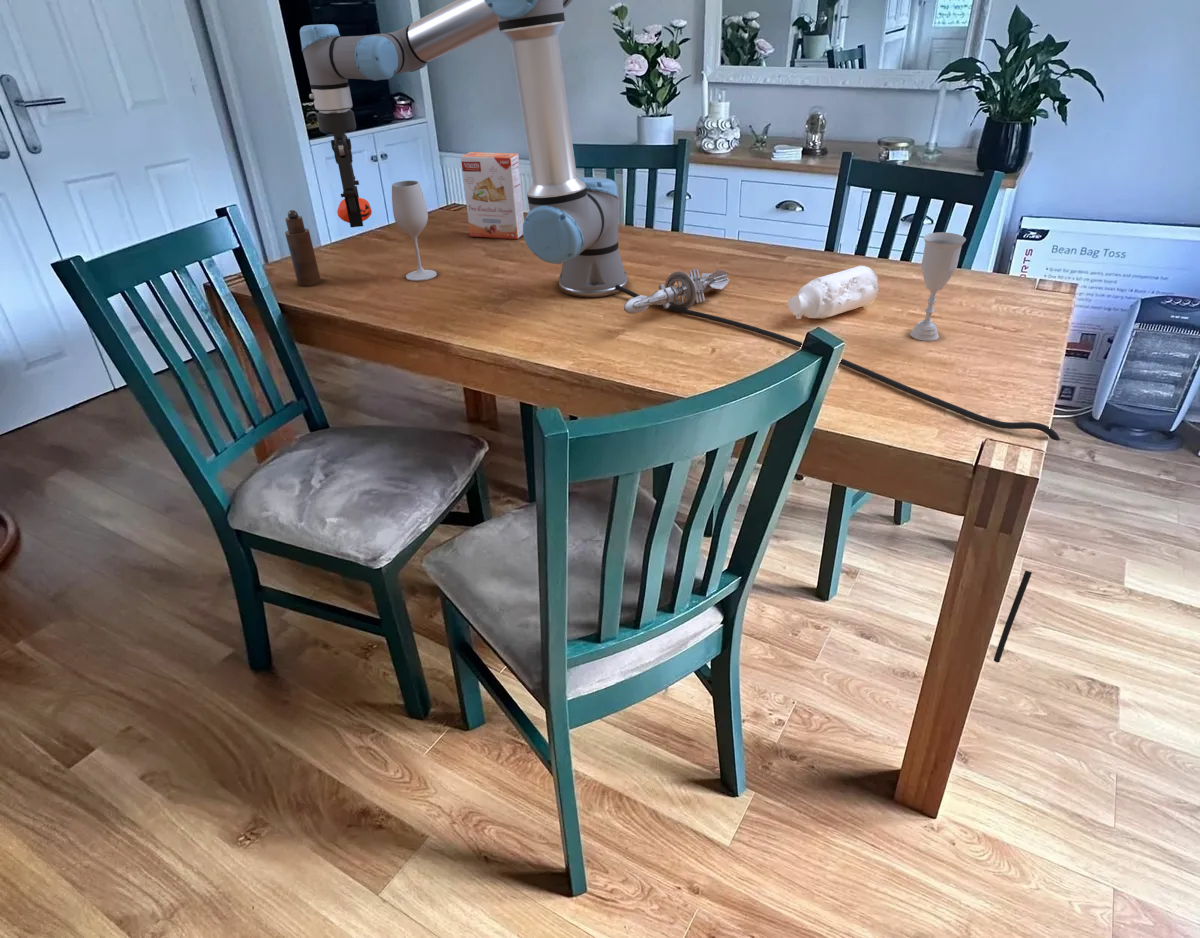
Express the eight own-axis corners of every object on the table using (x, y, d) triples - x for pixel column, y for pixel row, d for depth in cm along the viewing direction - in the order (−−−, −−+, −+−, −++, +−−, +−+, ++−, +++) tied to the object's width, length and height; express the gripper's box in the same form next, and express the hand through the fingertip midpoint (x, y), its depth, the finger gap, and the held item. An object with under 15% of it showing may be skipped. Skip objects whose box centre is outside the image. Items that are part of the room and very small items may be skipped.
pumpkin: (376, 216, 175) (370, 187, 172) (369, 226, 169) (363, 196, 165) (344, 218, 175) (338, 188, 172) (336, 227, 168) (329, 197, 165)
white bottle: (777, 319, 151) (781, 280, 147) (846, 298, 159) (851, 261, 155) (806, 332, 146) (810, 291, 141) (876, 309, 153) (882, 271, 149)
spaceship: (604, 291, 145) (635, 283, 140) (707, 262, 169) (738, 254, 163) (614, 332, 147) (645, 326, 142) (715, 298, 171) (745, 291, 165)
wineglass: (433, 280, 178) (418, 187, 167) (401, 281, 179) (384, 188, 167) (440, 269, 185) (426, 179, 173) (409, 270, 185) (392, 180, 174)
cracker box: (469, 237, 207) (459, 155, 196) (478, 231, 212) (469, 151, 201) (517, 240, 203) (509, 156, 192) (526, 233, 208) (518, 152, 197)
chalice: (913, 325, 147) (932, 230, 137) (949, 333, 143) (971, 236, 133) (898, 337, 142) (917, 240, 132) (936, 346, 138) (957, 246, 128)
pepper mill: (325, 281, 181) (308, 209, 172) (305, 287, 177) (286, 214, 168) (313, 277, 184) (296, 206, 175) (293, 283, 180) (275, 210, 171)
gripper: (317, 105, 167) (339, 211, 179) (314, 119, 150) (339, 235, 162) (352, 102, 169) (372, 208, 181) (353, 116, 152) (375, 231, 164)
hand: (356, 221), depth 172 cm, fingers closed on pumpkin, 8 cm apart
